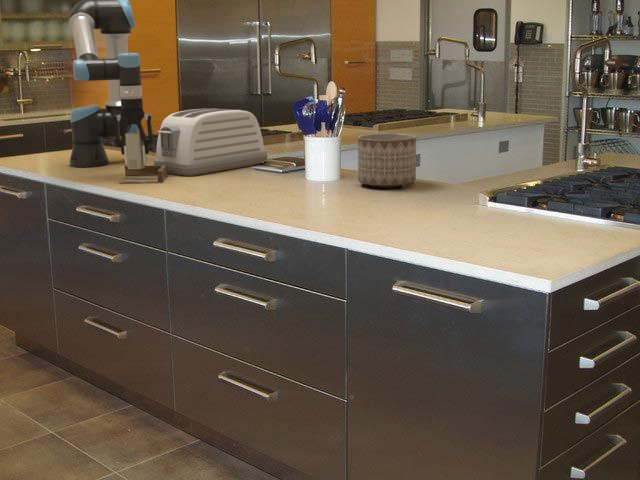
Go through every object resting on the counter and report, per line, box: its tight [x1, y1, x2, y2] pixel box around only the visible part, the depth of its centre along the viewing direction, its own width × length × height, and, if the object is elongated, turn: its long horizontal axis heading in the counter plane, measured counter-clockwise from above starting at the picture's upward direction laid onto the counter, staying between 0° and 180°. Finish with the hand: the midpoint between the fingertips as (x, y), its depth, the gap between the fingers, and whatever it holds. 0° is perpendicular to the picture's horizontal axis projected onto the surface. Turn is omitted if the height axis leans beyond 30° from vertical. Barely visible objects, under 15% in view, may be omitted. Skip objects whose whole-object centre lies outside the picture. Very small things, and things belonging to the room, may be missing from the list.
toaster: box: [153, 107, 268, 177], centre depth 342 cm, size 23×45×22 cm, turn 139°
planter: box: [357, 132, 417, 189], centre depth 297 cm, size 19×19×16 cm
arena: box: [118, 164, 168, 185], centre depth 319 cm, size 15×15×4 cm
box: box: [125, 131, 146, 169], centre depth 316 cm, size 5×4×13 cm
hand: (135, 163), depth 317 cm, fingers closed on box, 6 cm apart
